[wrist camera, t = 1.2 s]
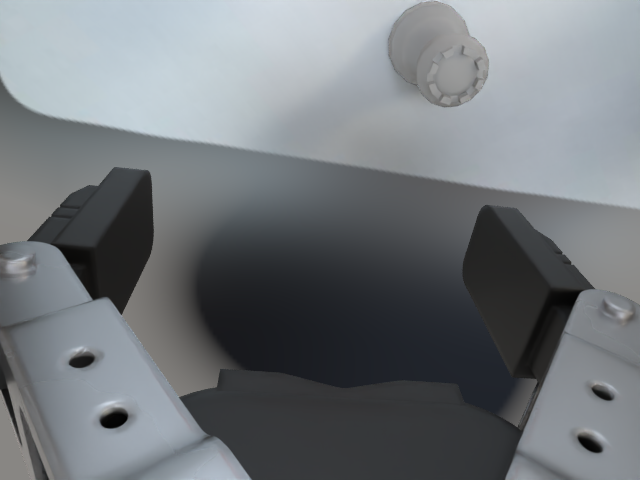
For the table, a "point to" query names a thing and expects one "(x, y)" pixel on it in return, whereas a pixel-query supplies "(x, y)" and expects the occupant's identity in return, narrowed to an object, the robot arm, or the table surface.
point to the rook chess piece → (438, 54)
